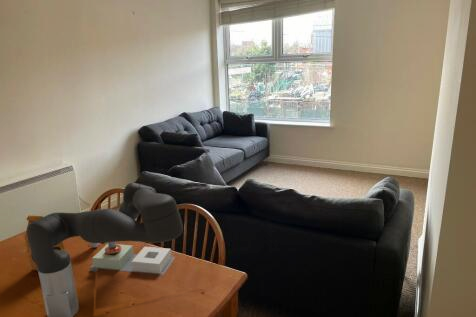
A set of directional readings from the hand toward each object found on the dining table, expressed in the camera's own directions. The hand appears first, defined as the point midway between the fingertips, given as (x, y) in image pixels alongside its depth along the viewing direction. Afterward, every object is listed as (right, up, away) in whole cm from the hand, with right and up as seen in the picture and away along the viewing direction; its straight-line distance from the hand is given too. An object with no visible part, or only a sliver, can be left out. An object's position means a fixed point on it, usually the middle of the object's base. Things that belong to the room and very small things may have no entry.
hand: (112, 237), depth 142 cm
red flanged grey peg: (0, -9, +1) cm, 10 cm away
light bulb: (-13, -8, +16) cm, 22 cm away
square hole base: (+8, -11, +1) cm, 14 cm away
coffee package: (-25, -12, +1) cm, 27 cm away
